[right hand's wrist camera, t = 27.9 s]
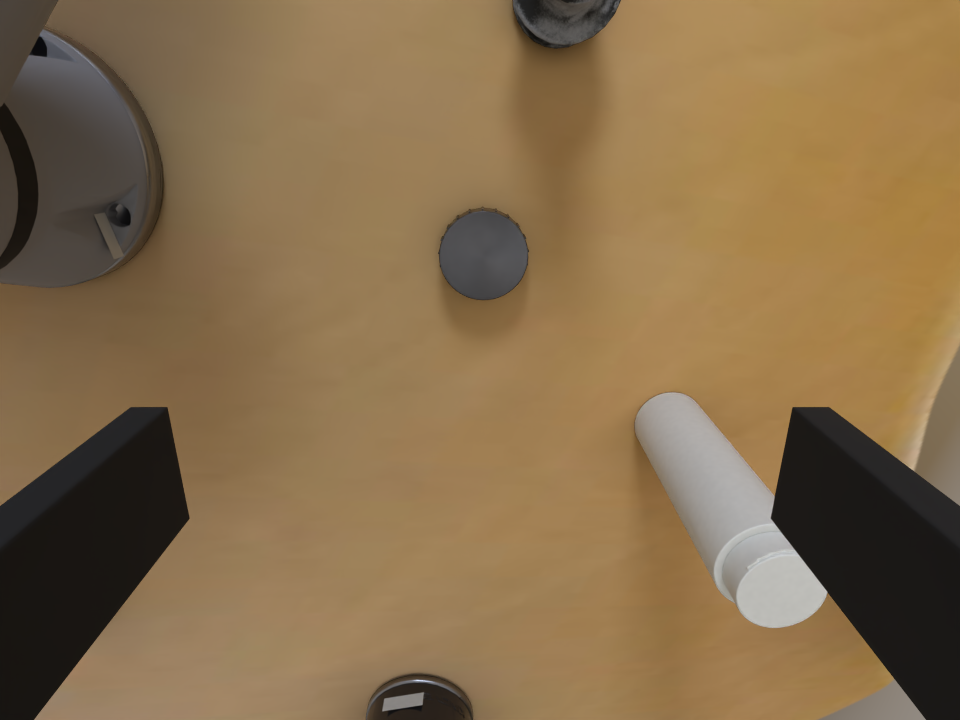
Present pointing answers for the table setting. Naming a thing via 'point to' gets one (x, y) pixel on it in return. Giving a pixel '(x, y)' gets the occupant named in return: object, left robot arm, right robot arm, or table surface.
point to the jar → (726, 513)
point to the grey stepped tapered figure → (563, 19)
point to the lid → (483, 254)
